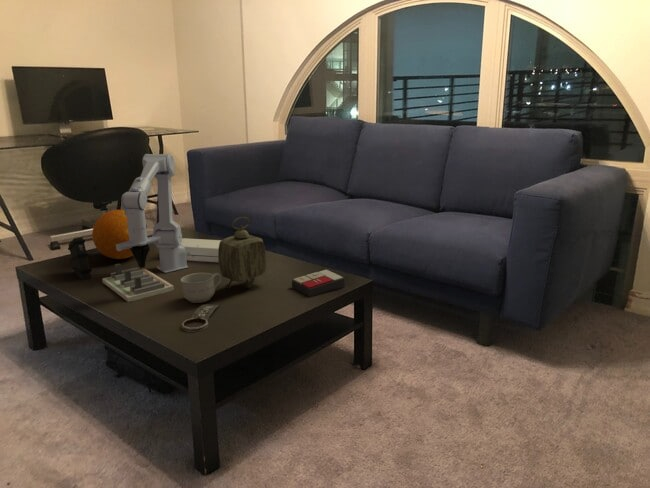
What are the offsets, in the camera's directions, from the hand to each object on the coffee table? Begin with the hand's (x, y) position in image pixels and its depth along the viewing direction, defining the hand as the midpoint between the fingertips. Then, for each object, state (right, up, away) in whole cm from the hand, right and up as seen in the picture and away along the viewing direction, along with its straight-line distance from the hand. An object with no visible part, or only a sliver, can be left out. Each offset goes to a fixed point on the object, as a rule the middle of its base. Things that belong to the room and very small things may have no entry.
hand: (141, 266), depth 184 cm
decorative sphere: (-21, +2, +40) cm, 46 cm away
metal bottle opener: (+24, -15, -18) cm, 34 cm away
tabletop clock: (+34, -7, +7) cm, 35 cm away
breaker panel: (-4, -7, +9) cm, 12 cm away
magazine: (-30, -4, +21) cm, 37 cm away
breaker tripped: (-1, -8, 0) cm, 8 cm away
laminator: (+14, +2, +41) cm, 43 cm away
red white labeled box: (+59, -8, +6) cm, 60 cm away
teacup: (+22, -11, -3) cm, 24 cm away
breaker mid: (-7, -6, +6) cm, 11 cm away
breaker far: (-12, -4, +13) cm, 18 cm away
